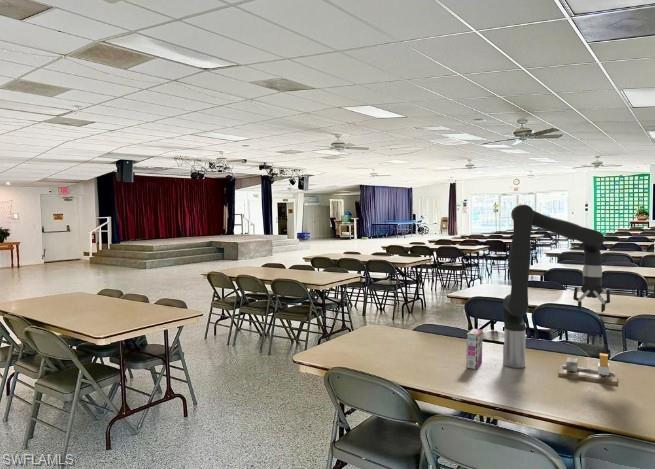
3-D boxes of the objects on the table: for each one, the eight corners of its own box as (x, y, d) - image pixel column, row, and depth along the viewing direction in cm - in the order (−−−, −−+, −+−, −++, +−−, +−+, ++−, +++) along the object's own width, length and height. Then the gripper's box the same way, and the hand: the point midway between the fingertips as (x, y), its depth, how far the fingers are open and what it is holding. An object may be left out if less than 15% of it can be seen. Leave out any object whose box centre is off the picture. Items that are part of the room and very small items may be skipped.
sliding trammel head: (597, 375, 200) (598, 355, 199) (598, 371, 205) (598, 351, 205) (608, 377, 198) (609, 357, 197) (608, 372, 203) (609, 353, 203)
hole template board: (558, 376, 206) (558, 361, 205) (560, 369, 214) (560, 355, 214) (617, 385, 195) (617, 369, 194) (616, 377, 203) (617, 363, 203)
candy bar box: (477, 370, 214) (477, 334, 213) (466, 368, 217) (466, 333, 216) (482, 363, 224) (483, 329, 223) (472, 361, 226) (472, 328, 226)
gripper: (611, 275, 209) (609, 311, 210) (575, 272, 217) (574, 307, 218) (610, 277, 203) (609, 314, 204) (573, 274, 211) (572, 310, 211)
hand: (591, 310), depth 211 cm, fingers open, 8 cm apart
